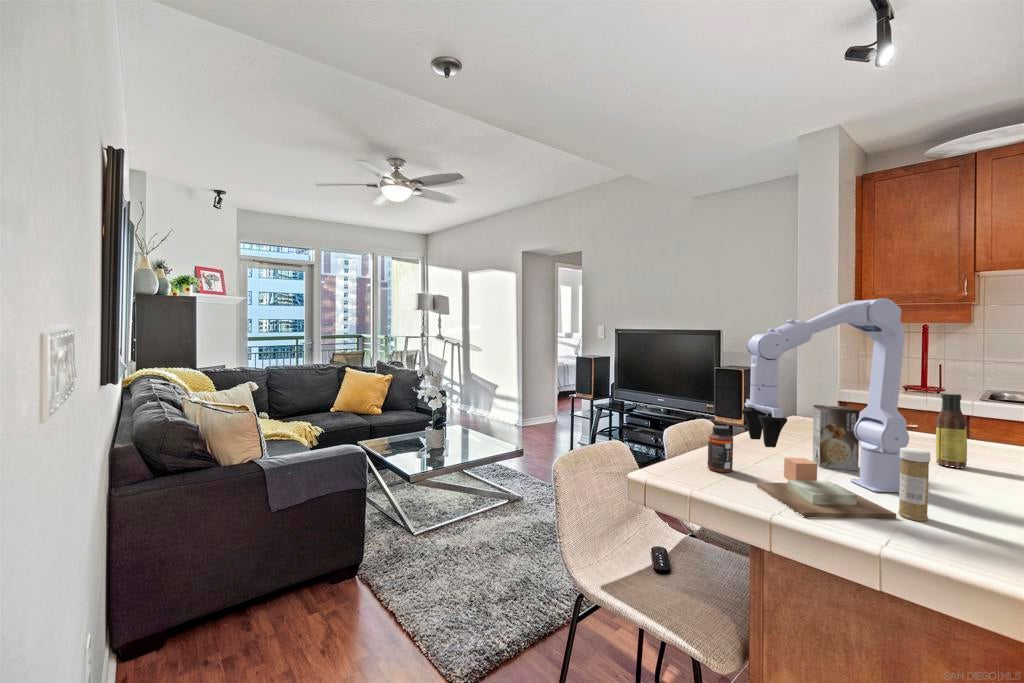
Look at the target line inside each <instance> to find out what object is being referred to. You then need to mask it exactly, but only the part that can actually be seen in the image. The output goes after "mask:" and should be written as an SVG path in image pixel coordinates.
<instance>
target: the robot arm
mask: <svg viewBox="0 0 1024 683" xmlns="http://www.w3.org/2000/svg"><path fill="white" fill-rule="evenodd" d="M901 318H902V308H901V307H900V306H898V304H896V303H895V302H894V301H893V300H891V299H889V298H884V297H883V298H877V299H865V300H859V299H858V300H851V301H849V302H847V303H846V302H845V303H842V304H840V305H837V306H836V307H834V308H832V309H829V310H828V311H826V312H822V313H820V314H819V315H818V314H817V315H816V316H815V317H812V318H811V319H808V320H806V321H804V320H802V319H791V318H790V319H788V320H786V321H785V324H783V325H780V326H778V327H776V328H773V327H770V328H768V329H767V330H766V333H758V334H754V335H753V336H752V337H751V338H750V339H749V341H748V343H747V344H746V345H745V347H746V348H745V349H746V351H747V353H748V355H749V356H750V385H749V386H750V387H749V389H750V392H749V398H746V399H745V402H744V406H745V407H746V408H743V409H741V413H742V415H743V416H744V420H745V422H746V425H747V429H748V435H749V438H750V440H761V438H763V444H764V447H765V448H776V446H777V444H778V440H779V437H780V435H781V431H782V430H783V428H784V426H785V425H786V423H788V418H787V417H784V409H783V408H781V407H780V405H779V404H778V403H779V402H778V398H779V396H778V394H779V393H778V392H779V363H780V362H779V359H780V358H781V357H782V356H783V354H784V353H785V352H787V351H791V350H792V349H794V348H797V347H799V346H802V345H804V344H807V343H808V342H810V341H811V339H812V337H813V335H814V334H817V333H820V332H822V331H825V330H828V329H830V328H834V327H836V326H838V325H841V324H847V325H849V326H851V327H852V328H855V329H858V330H859V331H861V332H863V333H865V334H866V335H867V336H868V337H869V338H871V339H872V340H873V349H872V359H871V367H870V368H871V369H870V376H869V377H870V379H869V380H870V381H869V387H868V388H869V389H868V400H867V406H866V407H865V408H863V409H862V410H861V411H859V419H858V421H857V423H856V424H855V426H854V434H855V437H856V438H857V439H858V440H859V446H860V458H859V460H860V461H859V462H860V463H859V465H860V466H859V478H851V479H850V482H852V483H854V484H857V485H858V486H861V487H863V488H864V489H867V490H870V491H872V492H874V493H899V490H900V472H901V459H900V458H901V457H900V449H901V448H904V447H907V446H908V445H909V441H910V436H909V435H910V434H909V432H908V429H907V419H906V418H905V417H904V416H903V415H902V414H901V412H899V410H898V406H899V397H900V396H899V395H900V388H901V387H900V385H901V376H902V365H903V356H904V347H905V346H904V345H905V329H904V327H903V324H902V322H901Z"/></svg>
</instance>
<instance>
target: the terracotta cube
mask: <svg viewBox="0 0 1024 683" xmlns="http://www.w3.org/2000/svg"><path fill="white" fill-rule="evenodd" d="M783 459H784V460H783V461H784V462H783V463H784V466H783V467H784V468H783V478H784V477H785V478H784V479H785V480H787V481H788V480H796V481H818V466H817V463H814V462H813V461H812V460H810V459H807V458H805V457H784V458H783Z"/></svg>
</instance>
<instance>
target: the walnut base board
mask: <svg viewBox="0 0 1024 683" xmlns="http://www.w3.org/2000/svg"><path fill="white" fill-rule="evenodd" d="M756 487H757V488H758V487H759V488H758V489H760V488H761V489H762V490H761V489H760V490H761V491H763V490H764V491H765V492H764V491H763V492H764V493H766V492H767V493H768V494H767V493H766V494H767V495H769V494H770V495H771V497H772V496H773V497H775V498H776V499H778V500H779V501H781V502H782V503H784V504H786V505H787V506H789V507H790V508H792V509H793V510H795V511H796V512H798V513H799V514H801V515H802V516H804V517H803V518H808V517H833V518H832V519H876V520H877V519H878V520H879V519H880V520H881V519H883V520H884V519H885V520H886V519H887V520H896V519H897V513H896V512H893V511H892V510H889V509H887V508H885V507H883V506H881V505H879V504H877V503H875V502H873V501H872V500H869V499H867V498H865V497H863V496H860V495H858V494H857V493H854V492H852V491H851V490H849V489H847V488H844V487H842V486H840V485H838V484H836V483H833V482H831V481H829V480H817V481H796V480H788V479H787V482H766V481H765V482H763V481H762V482H760V481H759V482H758V481H756ZM770 495H769V496H770ZM773 497H772V498H773ZM775 498H774V499H775ZM776 499H775V500H776ZM778 500H777V501H778ZM779 501H778V502H779ZM781 502H780V503H781ZM782 503H781V504H782ZM784 504H783V505H784ZM787 506H786V507H787ZM790 508H789V509H790ZM792 509H791V510H792ZM793 510H792V511H793ZM795 511H794V512H795ZM796 512H795V513H796ZM798 513H797V514H798ZM799 514H798V515H799ZM801 515H800V516H801ZM802 516H801V517H802Z"/></svg>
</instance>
